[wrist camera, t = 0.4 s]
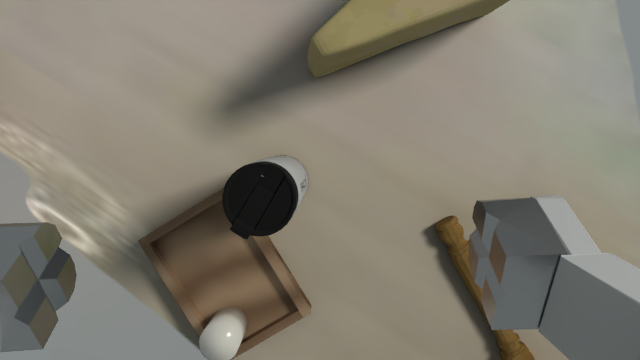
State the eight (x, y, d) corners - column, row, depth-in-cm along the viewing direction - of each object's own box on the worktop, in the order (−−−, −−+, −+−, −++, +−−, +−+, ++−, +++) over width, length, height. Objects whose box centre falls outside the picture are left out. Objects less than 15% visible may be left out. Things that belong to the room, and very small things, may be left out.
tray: (311, 305, 62) (310, 313, 59) (223, 357, 62) (218, 367, 60) (234, 182, 61) (230, 184, 58) (146, 236, 61) (137, 240, 59)
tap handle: (459, 216, 58) (575, 436, 59) (453, 212, 61) (563, 421, 62) (435, 228, 58) (551, 447, 59) (430, 224, 61) (541, 432, 62)
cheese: (332, 109, 60) (332, 98, 45) (291, 38, 59) (277, 4, 44) (494, 13, 58) (550, -31, 43) (454, -60, 58) (496, -130, 43)
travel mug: (246, 192, 61) (204, 217, 41) (273, 145, 60) (244, 147, 40) (290, 218, 61) (269, 255, 41) (318, 171, 60) (310, 187, 40)
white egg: (254, 329, 61) (246, 350, 55) (224, 347, 61) (212, 369, 55) (235, 299, 61) (225, 316, 55) (205, 317, 61) (191, 336, 55)
